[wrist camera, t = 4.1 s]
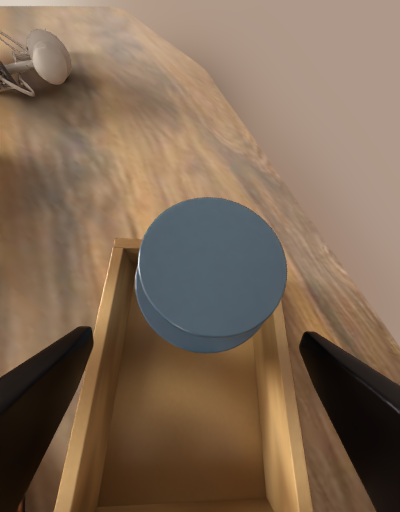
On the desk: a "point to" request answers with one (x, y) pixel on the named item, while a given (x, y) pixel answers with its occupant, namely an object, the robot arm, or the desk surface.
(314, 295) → the desk surface
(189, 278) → the blue bottle
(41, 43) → the clip-on lamp
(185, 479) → the box
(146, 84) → the desk surface
